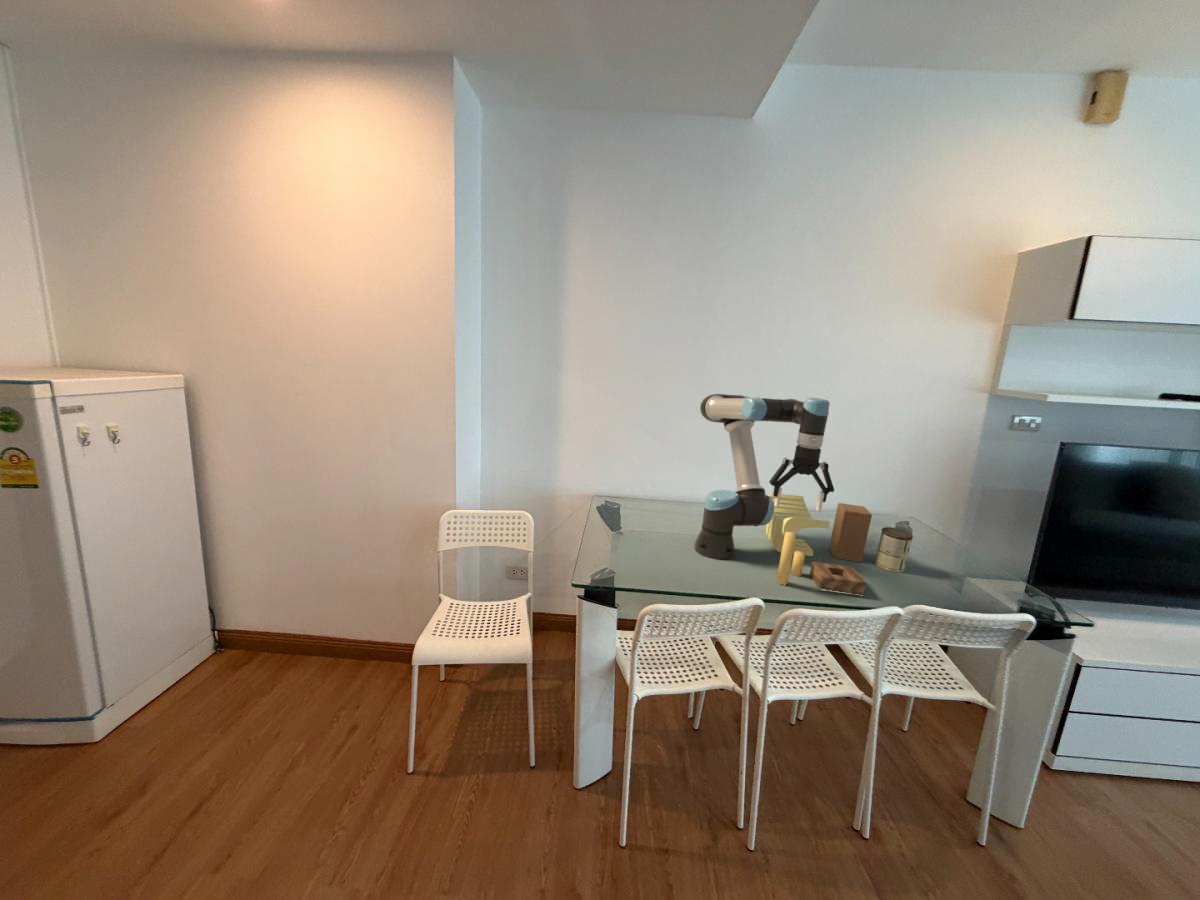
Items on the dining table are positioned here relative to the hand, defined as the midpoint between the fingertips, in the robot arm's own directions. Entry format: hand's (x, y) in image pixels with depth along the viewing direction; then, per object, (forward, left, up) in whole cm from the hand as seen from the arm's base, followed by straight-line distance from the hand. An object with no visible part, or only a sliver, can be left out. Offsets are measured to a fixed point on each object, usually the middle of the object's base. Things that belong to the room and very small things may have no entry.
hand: (797, 508), depth 165 cm
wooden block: (+31, +32, -27) cm, 52 cm away
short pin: (+6, +8, -27) cm, 29 cm away
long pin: (-1, -1, -27) cm, 27 cm away
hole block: (+18, +3, -27) cm, 33 cm away
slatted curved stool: (+9, +33, -27) cm, 44 cm away
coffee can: (+46, +27, -27) cm, 60 cm away
